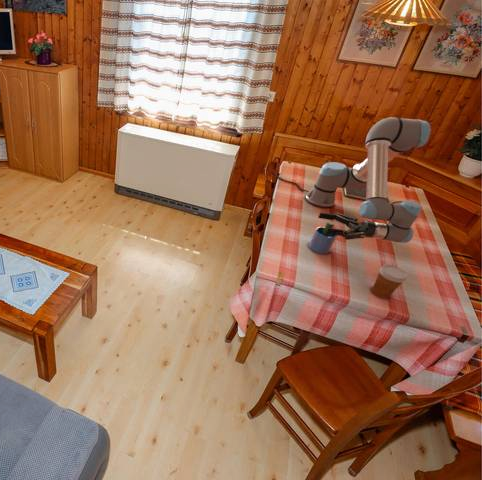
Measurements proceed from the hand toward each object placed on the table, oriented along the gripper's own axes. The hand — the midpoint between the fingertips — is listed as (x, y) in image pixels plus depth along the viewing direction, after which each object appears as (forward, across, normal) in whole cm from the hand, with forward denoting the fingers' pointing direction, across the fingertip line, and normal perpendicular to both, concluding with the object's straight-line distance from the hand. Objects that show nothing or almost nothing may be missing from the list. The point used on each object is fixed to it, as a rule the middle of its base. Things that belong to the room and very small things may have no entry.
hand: (322, 222), depth 174 cm
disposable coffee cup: (-21, -28, -14) cm, 38 cm away
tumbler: (-3, 0, -14) cm, 14 cm away
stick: (-3, 0, -14) cm, 14 cm away
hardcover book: (-46, +69, -15) cm, 85 cm away
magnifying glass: (-40, +22, -14) cm, 48 cm away
